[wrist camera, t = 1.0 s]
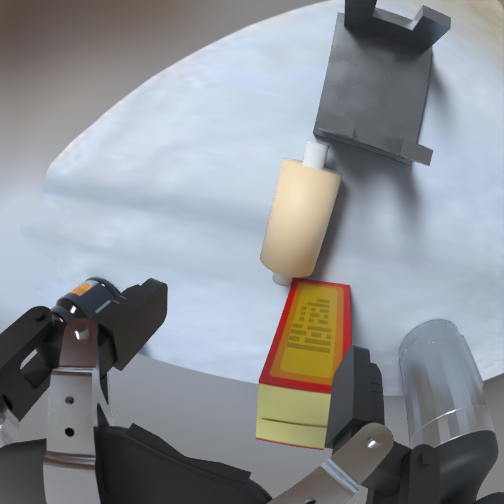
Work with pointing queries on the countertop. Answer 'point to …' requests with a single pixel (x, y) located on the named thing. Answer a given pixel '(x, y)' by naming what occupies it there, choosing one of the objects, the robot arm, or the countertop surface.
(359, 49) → the roll holder
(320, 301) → the baking soda box
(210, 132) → the countertop surface
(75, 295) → the supplement container
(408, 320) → the countertop surface
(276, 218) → the paper roll
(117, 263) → the countertop surface
